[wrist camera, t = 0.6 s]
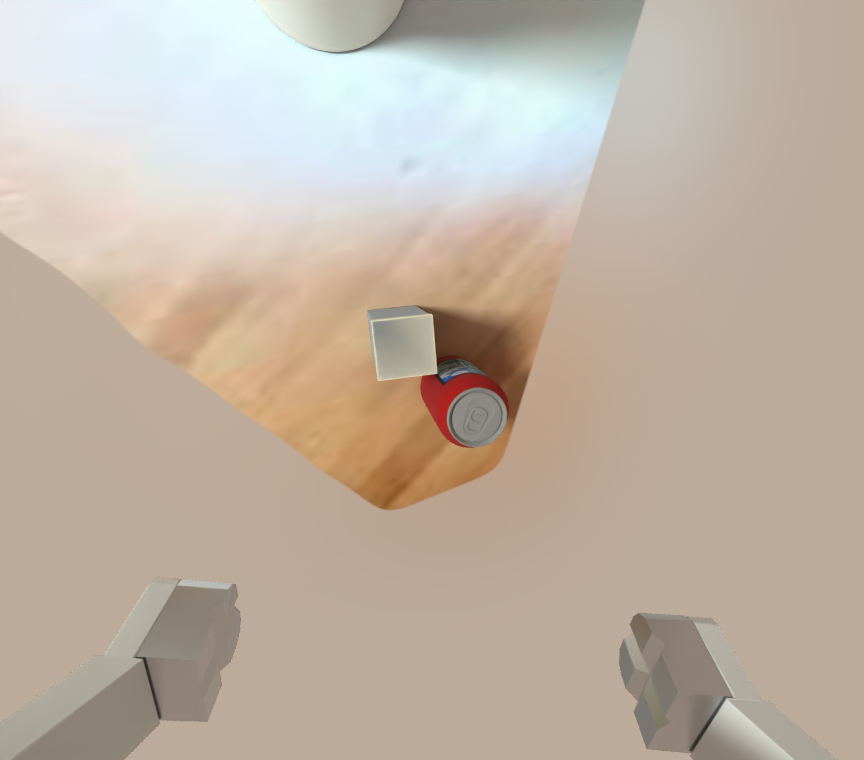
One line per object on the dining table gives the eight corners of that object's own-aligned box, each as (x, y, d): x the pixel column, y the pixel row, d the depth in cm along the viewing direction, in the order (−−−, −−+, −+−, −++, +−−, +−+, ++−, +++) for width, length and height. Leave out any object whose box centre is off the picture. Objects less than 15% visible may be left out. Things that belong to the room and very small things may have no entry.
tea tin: (366, 309, 50) (371, 320, 41) (415, 304, 51) (432, 314, 41) (371, 358, 51) (378, 380, 42) (420, 352, 52) (437, 373, 43)
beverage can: (488, 367, 54) (527, 396, 43) (463, 422, 55) (495, 464, 44) (433, 344, 52) (459, 369, 41) (409, 401, 53) (427, 440, 42)
